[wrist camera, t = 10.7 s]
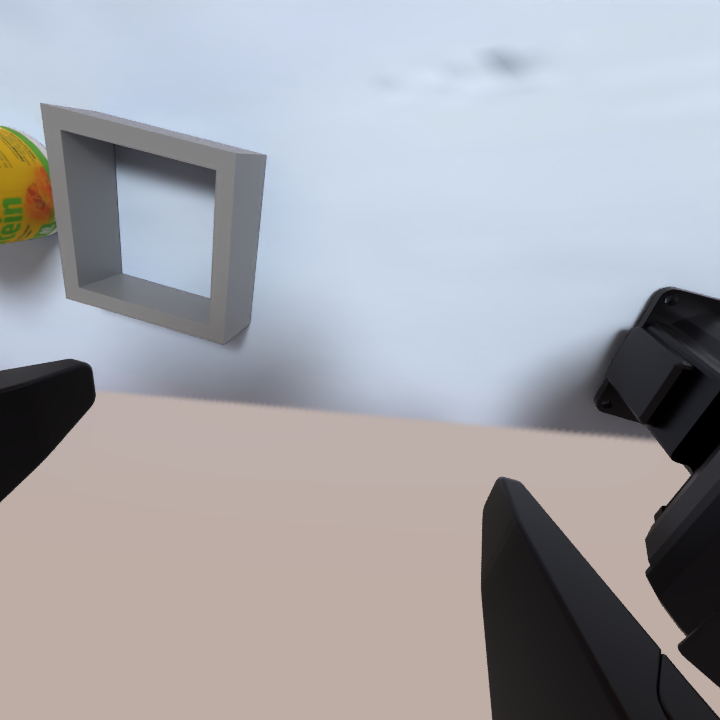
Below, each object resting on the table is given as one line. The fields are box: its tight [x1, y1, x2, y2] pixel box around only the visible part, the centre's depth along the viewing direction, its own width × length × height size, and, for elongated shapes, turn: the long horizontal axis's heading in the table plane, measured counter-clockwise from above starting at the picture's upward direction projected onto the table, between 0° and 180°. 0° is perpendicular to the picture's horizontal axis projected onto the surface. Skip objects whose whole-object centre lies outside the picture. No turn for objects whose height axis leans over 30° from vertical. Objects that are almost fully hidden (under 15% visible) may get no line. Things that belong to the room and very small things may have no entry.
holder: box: [40, 103, 266, 345], centre depth 19 cm, size 9×9×3 cm
